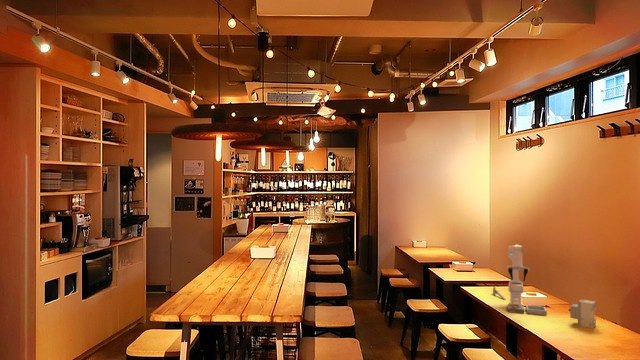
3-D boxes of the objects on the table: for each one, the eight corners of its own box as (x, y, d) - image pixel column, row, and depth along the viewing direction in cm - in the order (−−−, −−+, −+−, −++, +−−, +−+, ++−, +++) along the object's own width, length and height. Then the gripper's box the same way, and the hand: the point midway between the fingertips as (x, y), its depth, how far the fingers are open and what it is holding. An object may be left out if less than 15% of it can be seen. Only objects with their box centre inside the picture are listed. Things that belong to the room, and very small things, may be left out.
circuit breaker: (571, 320, 310) (571, 297, 310) (595, 325, 300) (596, 301, 300) (567, 323, 305) (567, 299, 305) (592, 328, 295) (592, 303, 295)
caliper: (492, 294, 385) (492, 286, 385) (494, 294, 385) (494, 286, 385) (504, 300, 364) (504, 292, 365) (506, 300, 365) (506, 292, 365)
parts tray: (525, 309, 337) (525, 305, 337) (544, 311, 334) (544, 306, 334) (527, 313, 326) (527, 309, 326) (546, 315, 322) (546, 310, 322)
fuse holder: (507, 307, 341) (507, 304, 341) (522, 309, 338) (522, 305, 338) (508, 311, 330) (508, 308, 330) (524, 313, 327) (524, 309, 327)
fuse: (513, 309, 336) (513, 298, 336) (517, 310, 335) (518, 298, 335) (513, 310, 333) (513, 299, 333) (518, 311, 332) (518, 299, 332)
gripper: (507, 258, 330) (507, 276, 323) (529, 259, 326) (530, 278, 319) (506, 262, 336) (506, 280, 329) (528, 264, 331) (529, 282, 324)
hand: (518, 279), depth 324 cm, fingers open, 7 cm apart
